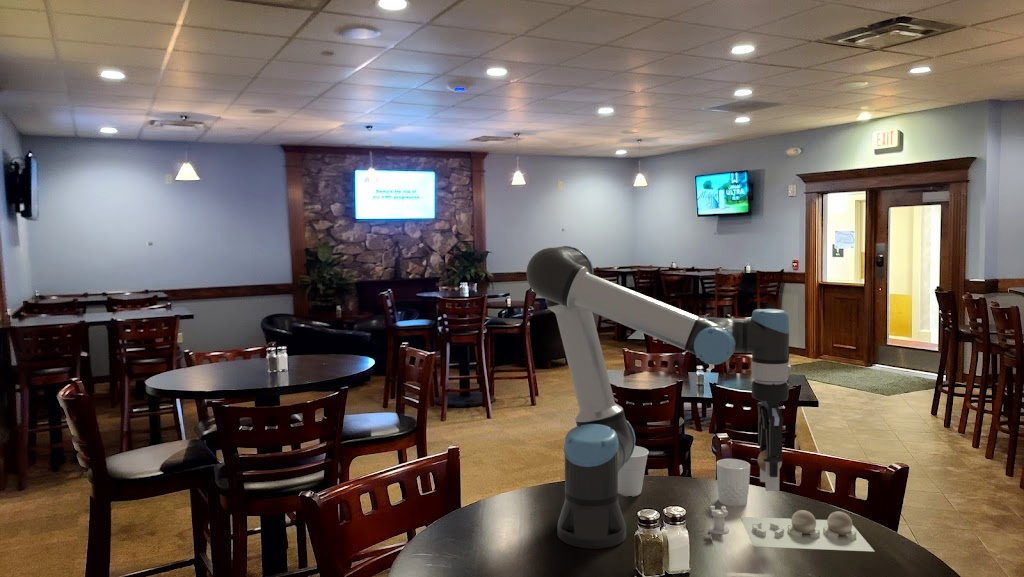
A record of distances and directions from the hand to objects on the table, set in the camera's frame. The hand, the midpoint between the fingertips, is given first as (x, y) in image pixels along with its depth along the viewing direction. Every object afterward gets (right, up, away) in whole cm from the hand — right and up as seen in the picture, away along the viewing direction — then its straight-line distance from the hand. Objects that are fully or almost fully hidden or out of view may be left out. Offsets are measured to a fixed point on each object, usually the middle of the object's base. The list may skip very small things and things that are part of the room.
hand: (769, 485), depth 159 cm
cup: (-26, -9, +28) cm, 39 cm away
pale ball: (+15, -10, -1) cm, 18 cm away
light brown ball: (0, +3, 0) cm, 3 cm away
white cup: (-2, -10, +19) cm, 22 cm away
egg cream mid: (+7, -10, 0) cm, 13 cm away
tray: (+7, -11, 0) cm, 13 cm away
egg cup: (-10, -11, +2) cm, 15 cm away
